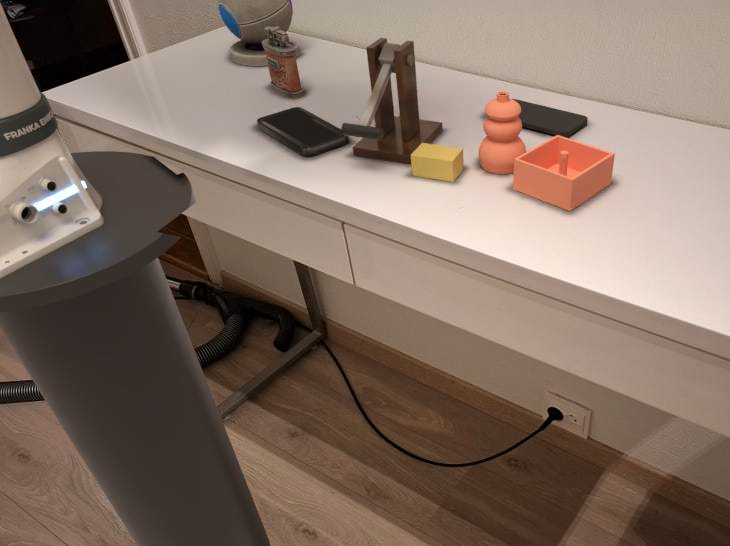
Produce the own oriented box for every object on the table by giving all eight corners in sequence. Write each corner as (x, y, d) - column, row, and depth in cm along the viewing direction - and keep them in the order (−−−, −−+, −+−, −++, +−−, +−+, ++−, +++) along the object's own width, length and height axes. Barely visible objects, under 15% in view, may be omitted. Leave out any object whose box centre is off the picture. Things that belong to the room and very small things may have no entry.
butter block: (453, 182, 90) (452, 161, 88) (412, 175, 92) (410, 154, 90) (463, 169, 93) (463, 148, 91) (423, 163, 94) (422, 142, 92)
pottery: (611, 183, 89) (620, 110, 83) (569, 211, 84) (576, 135, 77) (505, 146, 98) (506, 77, 91) (462, 169, 93) (460, 98, 86)
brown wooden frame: (411, 164, 94) (402, 62, 85) (353, 155, 96) (338, 55, 87) (442, 130, 102) (438, 34, 93) (389, 123, 105) (379, 28, 95)
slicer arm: (382, 144, 88) (376, 133, 86) (345, 139, 90) (338, 127, 88) (415, 58, 92) (410, 45, 90) (379, 54, 94) (373, 41, 91)
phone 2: (509, 97, 110) (590, 116, 103) (509, 102, 110) (590, 122, 104) (483, 112, 105) (566, 133, 99) (483, 117, 106) (566, 139, 99)
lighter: (266, 87, 117) (253, 25, 110) (284, 82, 118) (271, 20, 112) (290, 99, 112) (278, 36, 106) (308, 94, 114) (297, 31, 107)
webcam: (312, 54, 129) (297, -34, 119) (252, 71, 123) (231, -21, 112) (277, 39, 136) (260, -46, 126) (219, 54, 130) (196, -34, 120)
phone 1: (304, 150, 95) (254, 119, 103) (306, 158, 96) (255, 126, 104) (351, 134, 99) (299, 105, 107) (352, 141, 99) (300, 112, 108)
